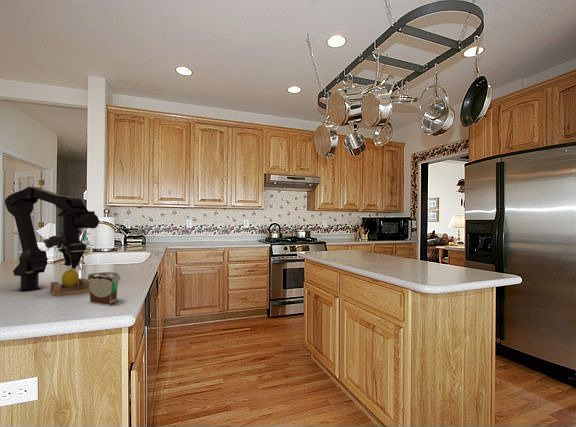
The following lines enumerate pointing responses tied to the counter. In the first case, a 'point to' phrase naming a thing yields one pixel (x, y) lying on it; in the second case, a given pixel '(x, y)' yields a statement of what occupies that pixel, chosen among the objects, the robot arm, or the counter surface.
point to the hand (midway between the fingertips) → (70, 267)
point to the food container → (103, 287)
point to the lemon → (70, 278)
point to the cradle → (69, 288)
